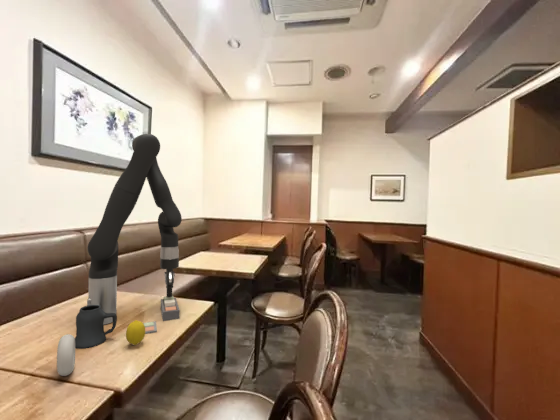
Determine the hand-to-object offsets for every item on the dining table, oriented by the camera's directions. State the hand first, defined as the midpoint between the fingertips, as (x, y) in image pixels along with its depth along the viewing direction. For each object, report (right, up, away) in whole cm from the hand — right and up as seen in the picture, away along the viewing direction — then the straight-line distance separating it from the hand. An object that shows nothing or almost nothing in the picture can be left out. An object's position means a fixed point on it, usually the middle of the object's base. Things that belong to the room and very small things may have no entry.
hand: (169, 296), depth 124 cm
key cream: (+2, -3, -5) cm, 6 cm away
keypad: (+2, -5, -5) cm, 7 cm away
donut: (-8, -6, -49) cm, 50 cm away
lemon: (+2, -6, -33) cm, 33 cm away
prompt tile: (+1, -5, -20) cm, 21 cm away
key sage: (0, -3, 0) cm, 3 cm away
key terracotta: (+4, -4, -10) cm, 11 cm away
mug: (-12, -5, -31) cm, 34 cm away
